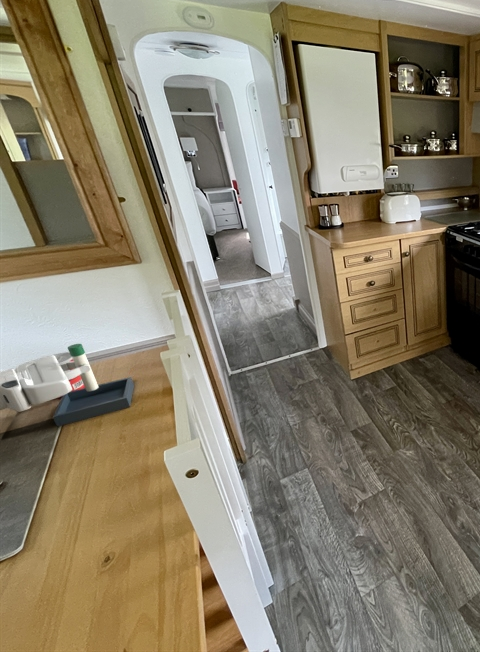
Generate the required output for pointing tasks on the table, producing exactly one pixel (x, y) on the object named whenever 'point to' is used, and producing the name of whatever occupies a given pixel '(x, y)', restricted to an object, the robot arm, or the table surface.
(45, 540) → the table surface
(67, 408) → the tray
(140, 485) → the table surface
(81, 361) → the marker
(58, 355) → the canned food
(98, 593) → the table surface
